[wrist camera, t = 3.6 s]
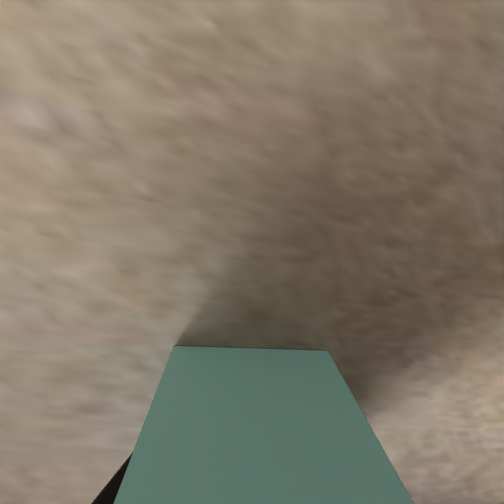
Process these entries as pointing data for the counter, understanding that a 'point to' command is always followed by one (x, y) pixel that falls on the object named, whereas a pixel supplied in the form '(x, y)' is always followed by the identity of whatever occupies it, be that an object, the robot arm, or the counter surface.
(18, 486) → the counter surface
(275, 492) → the teal block
